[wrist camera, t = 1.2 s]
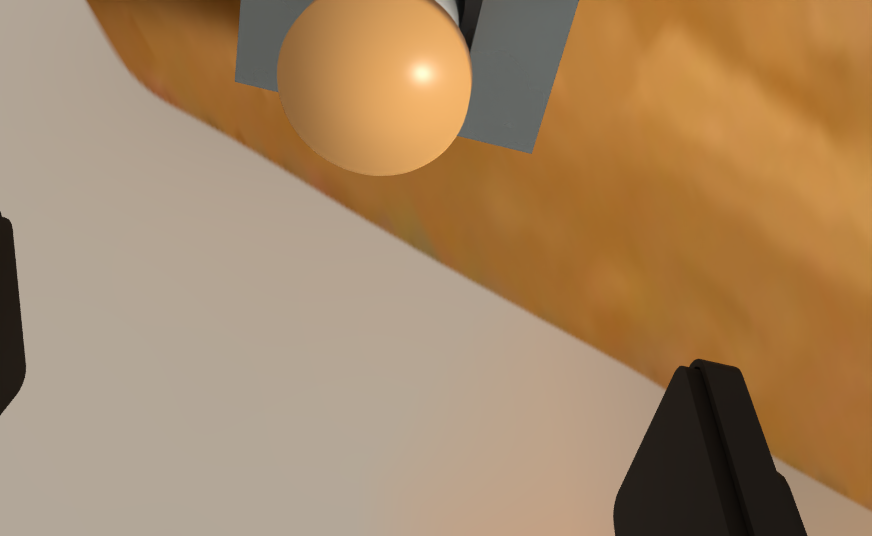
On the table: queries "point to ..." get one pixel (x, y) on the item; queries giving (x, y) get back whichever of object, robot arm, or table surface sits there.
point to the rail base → (489, 50)
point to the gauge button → (376, 81)
